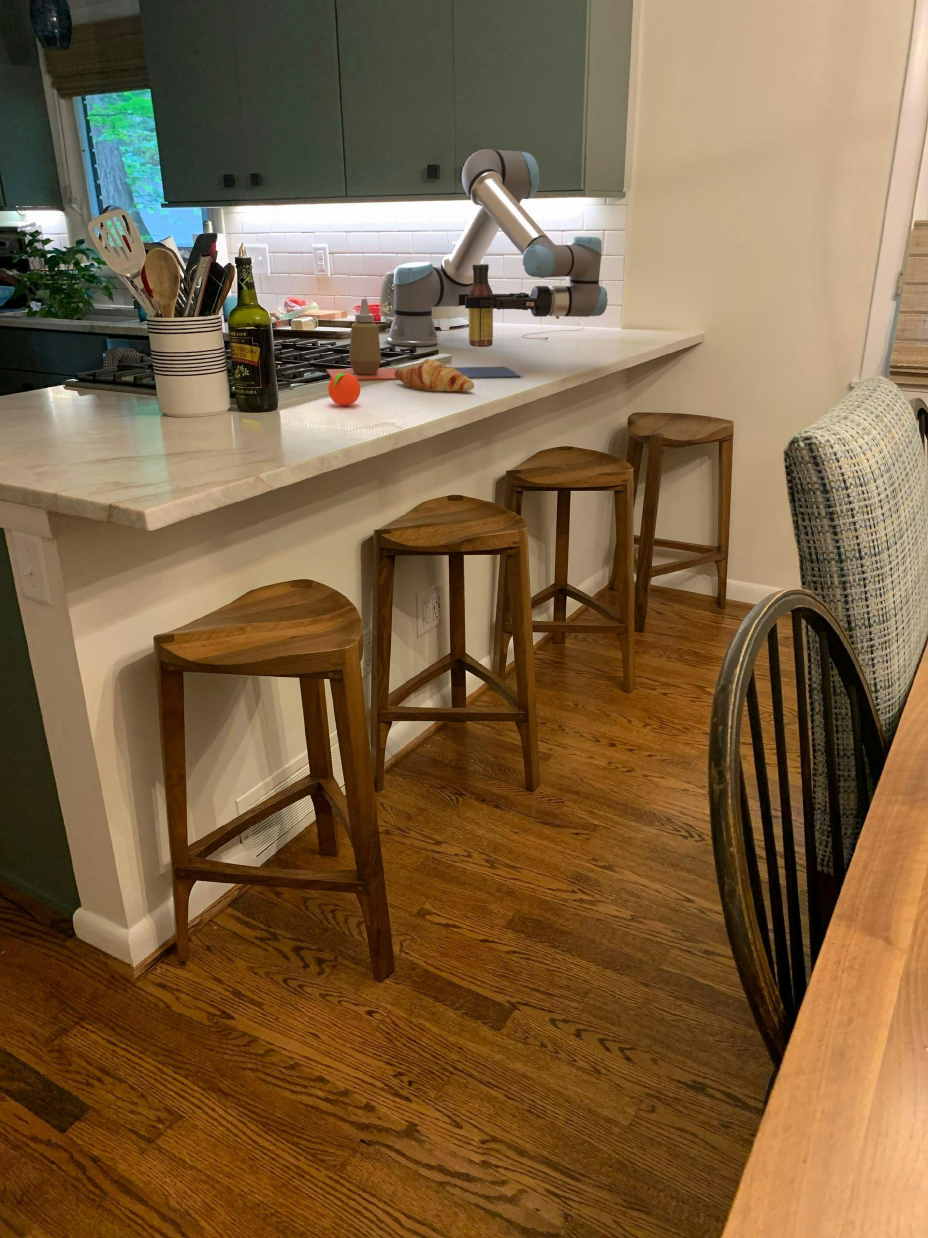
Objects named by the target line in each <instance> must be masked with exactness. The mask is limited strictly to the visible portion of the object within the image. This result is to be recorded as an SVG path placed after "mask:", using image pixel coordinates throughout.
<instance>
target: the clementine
mask: <svg viewBox="0 0 928 1238" xmlns="http://www.w3.org/2000/svg"><path fill="white" fill-rule="evenodd" d="M327 385H328V386H327V391H328V395H329V397H330V399H331V400H332V401H333V403H335V404H337V405H339V406H342V407H348V406H351V405H353V404H354V403H355V402H357V401H358V400H359V398H360V395H361V391H362V390H361V384H360V381H359V380H357V379H356V378H355V377H354V376H353V375H351V374H349V373H345V372H344V373H339V374H336V375H335V376H334V377H333V378H331V379H330V380H329V383H328V384H327Z"/></svg>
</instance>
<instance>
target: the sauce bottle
mask: <svg viewBox="0 0 928 1238" xmlns="http://www.w3.org/2000/svg"><path fill="white" fill-rule="evenodd" d="M489 269H490V267H489V264H488V263H480V264H473V285H472V286H471V288H470V290H469V297H491V300H492V294H494V292H493V290H492V288H491V286H490V284H489ZM493 339H494V309H493V308H492V306H491V308H468V343H469V345H470V346H471V347H477V348H487V347H488V348H489V347H492V346H493V343H494V342H493Z"/></svg>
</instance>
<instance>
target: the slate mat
mask: <svg viewBox="0 0 928 1238" xmlns="http://www.w3.org/2000/svg"><path fill="white" fill-rule="evenodd" d="M455 368H456V369H457V370H458V371H459V372H460V374H462V375H466V376H467V377H468V378H469V379H508V378H510V379H511V378H513V379H514V378H516V379H517V378H520V377H521V376H520V375H519V374H517V373H515V372H514V371H513V370H510V369H509V368H508V367H505V366H469V367H468V366H466V367H465V366H463V367H458V366H457V367H455Z"/></svg>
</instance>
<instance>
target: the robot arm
mask: <svg viewBox="0 0 928 1238" xmlns="http://www.w3.org/2000/svg"><path fill="white" fill-rule="evenodd" d="M538 165H539V164H538V163H537V160H536V158H535V157H534V156H533V155H532V154H531V153H529V152H526V151H521V150H515V151H514V150H502V149H489V148H485V149H483V148H482V149H480V150H477V151H475V152H473V153H472V154H471V155H470V156H469V157H468V158H467V160H466V161H465V162H464V165H463V168H462V170H461V171H462V172H461V182H462V187H463V190H464V191H465V194H466V196H467V197H468V198H469V199H470V200H471V201H472V203H473V204H474V205H476V207H475V209H474V211H473V213H472V215H471V216H470V219H469V221H468V222H467V225H466V226H465V228H464V230H463V232H462V234H461V236H460V238H459V239H458V241H457V244H456V245H455V248H454V249H453V251H452V253H449V254H447V255H445V256H444V257H443V259H442V261H441V263H440V265H439V266H433V263H432V262H431V261H430V262H429V261H417V262H416V261H415V262H408V263H402V264H400V265H397V266H396V267H395V269H394V273H393V275H394V276H393V319H392V323H391V325H390V326H391V327H390V328H389V333H388V337H387V342H388V344H390V345H393V346H401V347H431V346H436V345H438V334H437V331H436V328H435V323H434V321H433V308H443V307H445V308H447V307H448V308H449V307H456V308H457V307H462V306H463V307H464V309H469V308H491V306H492V308H493V310H495V309H496V310H499V311H500V310H522V311H529V310H530V313H531V315H532V316H533V317H535V318H539V317H540V318H542V317H543V318H545V317H555V319H556V320H559V319H560V317H572V318H573V317H574V318H575V317H577V318H590V317H600V316H602V315H604V313H605V312H606V310H607V307H608V303H609V301H608V300H609V299H608V292H607V288H606V287H604V286H601V285H600V274H601V263H602V257H603V252H602V251H603V245H602V244H603V242H602V239H601V238H600V237H597V236H596V237H595V236H575V237H573V239H572V243H571V244H555V243H554V241H552V239H550V238H549V236H548V235H547V234H546V233H545V232H544V231H543V229H542V228H541V227H540V226H539V224H537V223H536V221H535V220H534V219H533V217H532V216H530V214H529V213H528V212H527V211H526V210H525V208H523V206H522V205H521V201H522V200H523V199H525V200H528V199H531V198H533V197H534V196H535V195H536V193H537V191H538V188H539V184H540V170H539V166H538ZM499 230H501V231H502V232H503V233H504V235H505V236H506V237H507V238H508V239H509V240H510V242H511V243H512V244H513V245H514V246H515V248H516V249H517V250H518V251H519V252H520V254H521V255H522V266H523V267H524V271H525V273H526V274H527V275H528V276H529V277H532V278H539V279H546V278H564V277H565V278H566V277H568V278H569V285H549V286H547V285H535V286H534V287H533V288H532V289H531V291H530V292H531V293H526V292H518V293H516V292H512V293H511V292H510V293H493V294H492V300H491V297H469V290H470V288H471V286H472V285H473V264H481V261H482V260H483V258H484V256H485V255H486V253H487V251H488V249H489V247H490V246H491V244H492V242H493V241H494V239H495V237H496V235H497V233H498V231H499Z"/></svg>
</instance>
